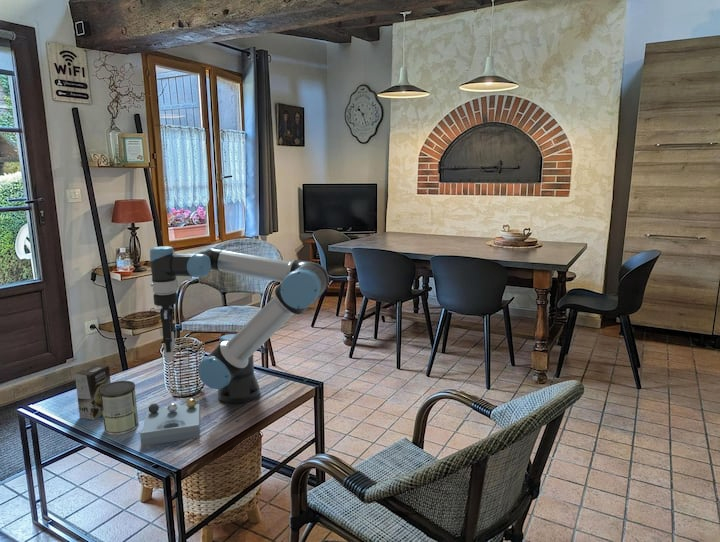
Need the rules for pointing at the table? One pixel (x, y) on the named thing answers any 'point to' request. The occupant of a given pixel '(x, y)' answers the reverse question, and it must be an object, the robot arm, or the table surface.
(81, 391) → the coffee box
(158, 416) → the board
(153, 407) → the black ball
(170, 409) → the steel ball
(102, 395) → the coffee can
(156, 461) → the table surface
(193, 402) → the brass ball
